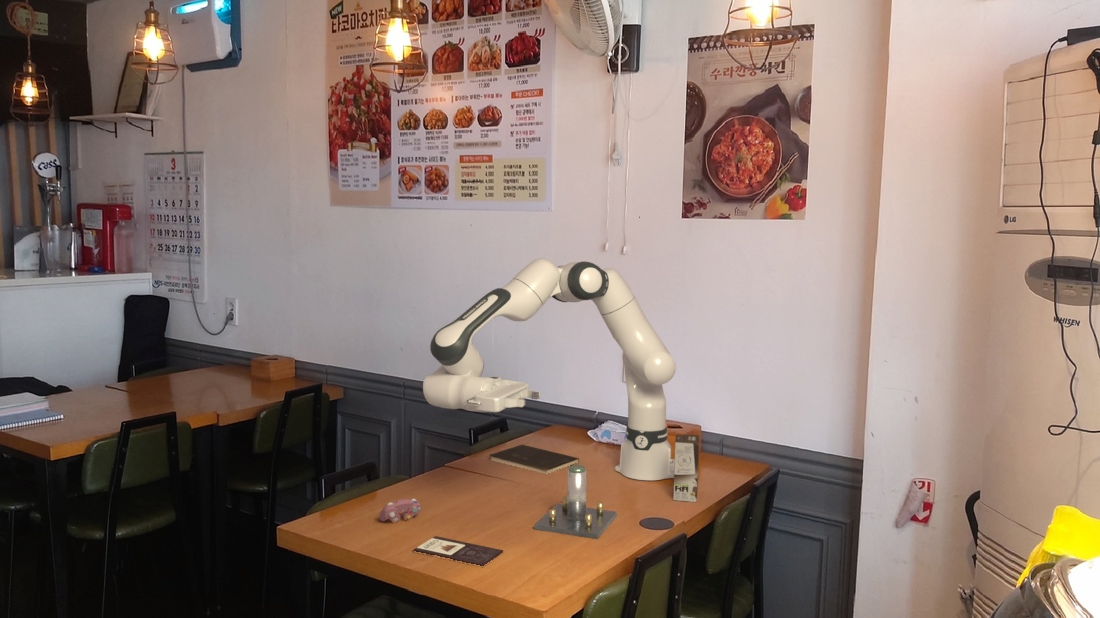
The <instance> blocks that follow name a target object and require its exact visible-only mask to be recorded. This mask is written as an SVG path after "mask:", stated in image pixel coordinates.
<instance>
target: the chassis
mask: <svg viewBox="0 0 1100 618" xmlns="http://www.w3.org/2000/svg"><path fill="white" fill-rule="evenodd" d="M567 498H568V496H563V497H562V502H561V503H558V502H557V504H555V505H554V506H553V507H552V508H549V511H547V512H546V513H545V514H544V515H543V516H542V517H541V518H540V519H539V520H538V521H537V522H535V523H534V524H533V525H534V528H533V529H534V530H536V531H543V532H547V533H548V532H550V533H556V534H562V535H569V536H575V537H581V538H588V539H589V538H590V539H594V540H598V539H599V538H600V537H601V536H602V534H604V533H605V531H606V529H608V527H610V525H611V524H612V523H613V522H614V521H615V519H616V518H617V516H618V511H614V510H608V509H607V510H606V509H604V502H603V501H597V502H596V508H592V507H587V506H586V514H585V520H583V521H571V520H569V519H568V518H567Z"/></svg>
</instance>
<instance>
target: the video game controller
mask: <svg viewBox="0 0 1100 618" xmlns="http://www.w3.org/2000/svg"><path fill="white" fill-rule="evenodd" d="M422 508H423V507H422V505H421V503H420V502H419V500H417V499H416V498H412V499H409V498H399V499H397V500H395V501H393V502H391V501H390V502H388V503H387V504H385V506H383V509H381V511H380V512H379V520H380V521H381V522H385V521H388V520H390V521H391V522H392V523H393V522H395V523H398V522H399V521H400V520H401V515H400V514H401V513H402V517H403V519H404V521H410V520H412V519H413V518H414V517H415V516H418V514H419V513H420V512H421V511H422ZM397 521H398V522H397Z"/></svg>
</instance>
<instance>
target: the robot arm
mask: <svg viewBox="0 0 1100 618" xmlns="http://www.w3.org/2000/svg"><path fill="white" fill-rule="evenodd" d="M550 298H553V299H554V300H556V301H558V302H562V303H580V302H582V301H592V302H593V303H594V305H595V306H596V308H597V310H598V312H599V314H600V316H601V318H602V320H603V322H604V323H605V325H606V327H607V329H608V330H609V332H610V334H611V336H612V338H613V339H614V340H615V342H616V343H617V345H618V346H619V347H620V349H621V350H622V354H621V355H622V362H623V366H624V367H623V368H624V374H625V375H624V376H625V384H626V391H627V402H628V405H627V407H628V408H627V425H626V430H625V434H626V435H625V438H626V440H624V441H623V442H622V443H621V446H620V459H619V464H617V465H615V467H614V471H616V472H618V473H620V474H621V475H623V476H624V477H627V478H630V479H633V480H638V481H659V480H665V479H674V460H675V458H672V445H671V444H670V442H669V440H668V439H669V438H668V437H669V436H668V434H669V432H668V424H667V423H666V422H667V399H666V396H665V393H664V387H663V385H665V384H667V383H668V382H670V381H671V380H672V379H673V378H674V376H675V374H676V371H677V370H676V369H677V364H676V361H675V359H674V357H673V355H672V354H671V353H670V352H669V350H668V348H667V346H666V345H665V344H664V342H663V341H662V339H661V337H660V336H659V335H658V333H657V331H656V330H655V328H653V326H652V324H651V323H650V321H649V320H648V319H647V317H646V315H645V313H644V312H643V310H642V307H641V306H640V303H639V302H638V300H637V298H636V296H635V294H634V293H633V291H632V290H631V288H630V286H629V285H628V283H627V282H626V280H625V279H624V278H623V275H621V274H620V273H619V272H618V270H616V269H615V268H603V269H602V268H601V267H600V266H598V265H597V264H595V263H593V262H589V261H586V260H585V261H578V262H577V261H574V262H568V263H567V264H564V265H559V266H556V264H554V263H553V262H552V261H551V260H549V259H547V258H542V257H541V258H536V259H534V260H532V261H531V262H529V264H528V265H526V266H525V267H523V268H522V269H521V270H520V271H519V272H518V273H517V274H516V275H515V276H514V277H513V278H512V279H511V280H510V281H509V282H508V283H506V285H504V286H503V287H501V288H500V287H498V288H494V289H493V290H491V291H489V292H488V293H486V294H484V296H482V297H481V298H480V299H478V300H477V301H476V302H475V303H474V304H472V305H471V306H470V307H469V308H468V309H466V310H465V311H464V312H463V313H462V314H461V315H459V317H457V318H456V319H455V320H453V321H451V322H450V323H448V324H446V325H445V326H443V327H441V328H440V329H438V330H437V331H436V333H435V334H434V335H433V336H432V339H431V341H430V344H429V347H430V349H429V350H430V353H431V355H432V356H433V358H434V359H436V361H437V362H439V363H440V364H441V365H440V366H439V367H438V369H437V370H435V371H434V372H433V373H431V374H428V375H426V376H425V377H424V378H423V379H424V380H423V383H422V392H423V397H424V398H425V399H424V400H426V401H427V402H426V403H428V404H429V405H431V406H433V407H438V408H441V409H448V410H449V409H450V410H457V409H463V410H465V411H470V412H478V413H501V412H502V411H503V410H506V409H508V408H523V407H525V406H526V399H528V398H529V399H532V400H538V399H540V398H541V393H540V391H536V390H533V389H530V385H529V384H528V383H526V382H523V381H517V380H510V379H502V377H501V376H492V377H491V376H489V377H486V376H482V374H483V371H484V368H485V363H484V360H483V358H482V356H481V354H480V353H479V350H477V348H476V347H475V345H474V344H473V342H472V341H473V337H474V335H475V334H477V333H478V332H479V331H480V330H481V329H483V328H484V327H485V326H486V325H487V324H488V323H489V322H491V321H492V320H493V319H494V318H497V317H504V318H506V319H507V320H510V321H512V322H526V321H528V320H529V319H532V317H534V316H535V315H536V314H537V313H538V312H539V311H540V310H541V308H542V307H543V306H544V305H545V304H546V302H547V301H548V300H549V299H550Z"/></svg>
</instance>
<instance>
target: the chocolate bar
mask: <svg viewBox="0 0 1100 618" xmlns="http://www.w3.org/2000/svg"><path fill="white" fill-rule="evenodd" d="M413 551H416V552H421V553H426V554H430V555H437V556H440V557H445V558H450V559H453V560H457V561H462V562H466V563H471V564H476V565H480V566H484V565H485V564H487V563H488V562H489V563H491V562H492V561H494V560H495V559H497V558H498V557H499V556H500V555H502V554H503V553H504V550H503V549H498V548H493V547H488V546H484V545H480V544H476V543H475V544H474V543H470V542H465V541H460V540H456V539H451V538H447V537H446V538H445V537H441V536H433V537H432V538H430V539H429V540H427V541H425V542H424V543H422V544H420V545H419V546H417V547H416V548H414V549H413V550H412V552H413ZM494 558H495V559H494ZM491 560H492V561H491ZM490 561H491V562H490ZM489 563H488V564H489ZM488 564H487V565H488ZM485 566H486V565H485ZM485 566H484V567H485Z"/></svg>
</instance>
